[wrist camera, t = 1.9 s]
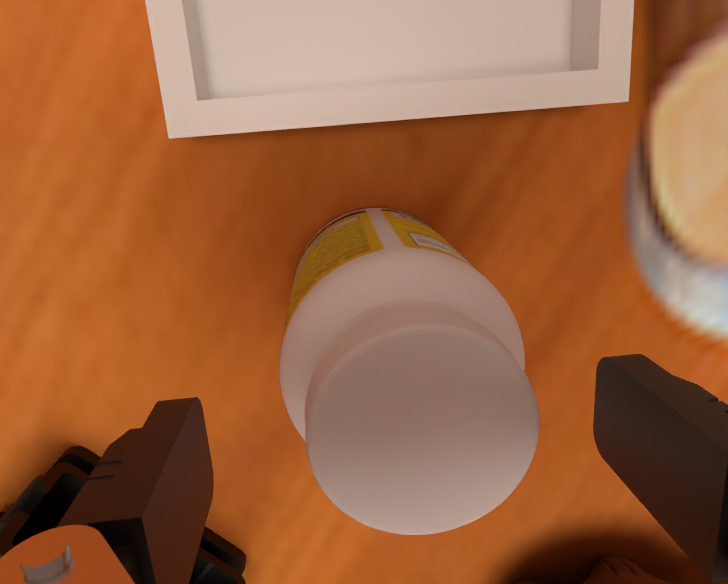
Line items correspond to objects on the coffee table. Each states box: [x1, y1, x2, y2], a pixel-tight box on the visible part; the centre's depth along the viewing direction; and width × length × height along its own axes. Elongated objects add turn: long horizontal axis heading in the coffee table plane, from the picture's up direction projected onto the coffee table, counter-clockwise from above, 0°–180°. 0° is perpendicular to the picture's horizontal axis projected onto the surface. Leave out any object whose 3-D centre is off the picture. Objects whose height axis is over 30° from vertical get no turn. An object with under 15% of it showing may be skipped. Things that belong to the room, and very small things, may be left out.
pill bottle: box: [279, 208, 539, 535], centre depth 16 cm, size 6×6×11 cm
